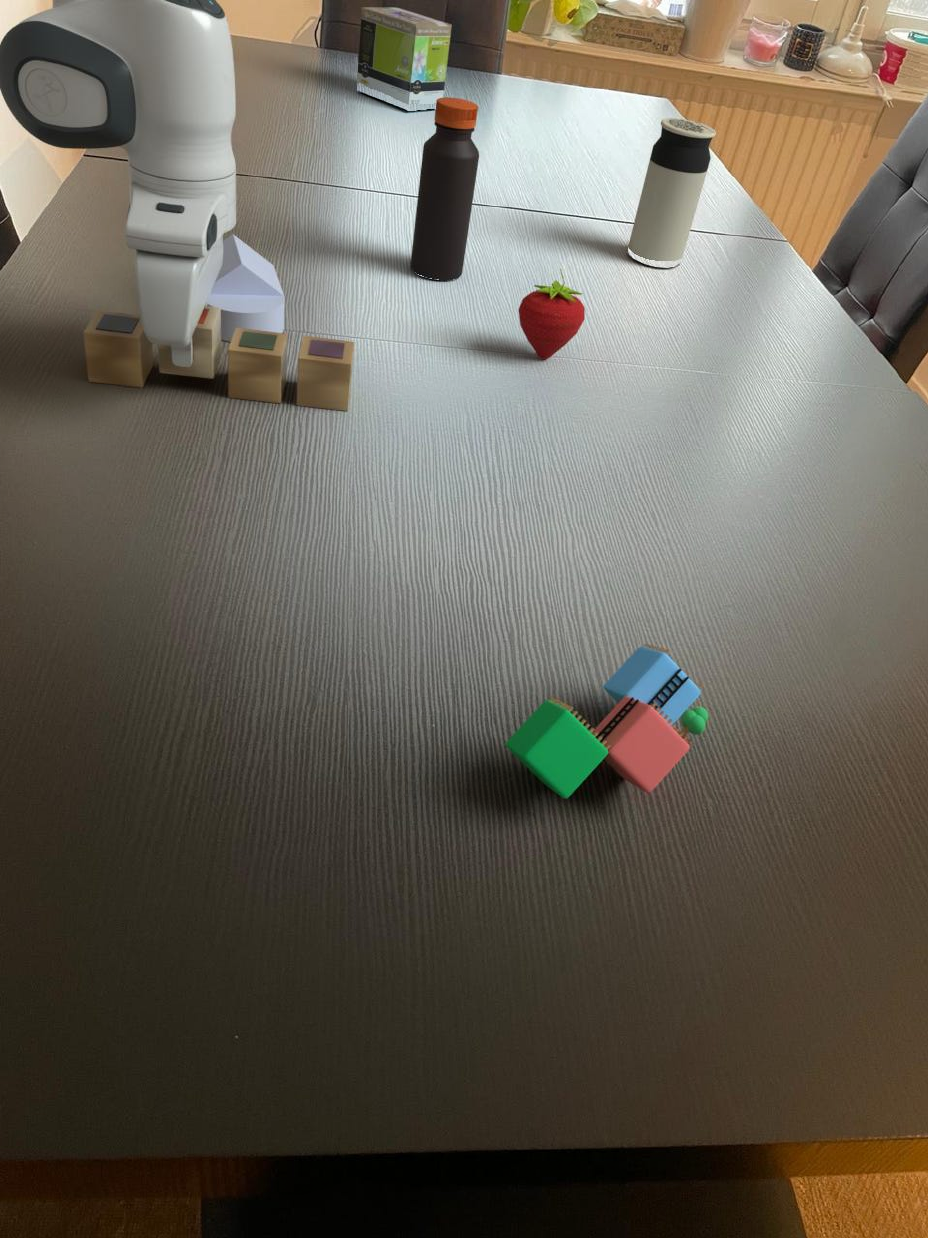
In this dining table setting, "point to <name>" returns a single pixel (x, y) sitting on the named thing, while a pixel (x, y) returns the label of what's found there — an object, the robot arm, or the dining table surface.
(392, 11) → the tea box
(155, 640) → the dining table surface
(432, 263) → the bottle
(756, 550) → the dining table surface
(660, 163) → the travel mug
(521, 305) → the strawberry
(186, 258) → the robot arm
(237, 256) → the wedge on round base
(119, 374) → the beech block
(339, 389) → the beech block
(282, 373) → the beech block
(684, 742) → the building blocks
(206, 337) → the maple block
